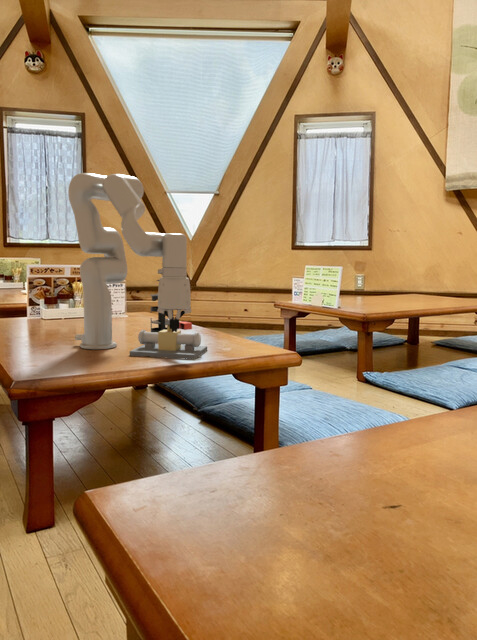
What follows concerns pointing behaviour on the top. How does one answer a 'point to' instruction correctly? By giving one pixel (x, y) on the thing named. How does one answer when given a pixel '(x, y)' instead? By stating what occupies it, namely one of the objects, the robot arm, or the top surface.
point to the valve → (169, 344)
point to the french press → (160, 317)
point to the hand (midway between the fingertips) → (174, 331)
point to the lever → (180, 324)
